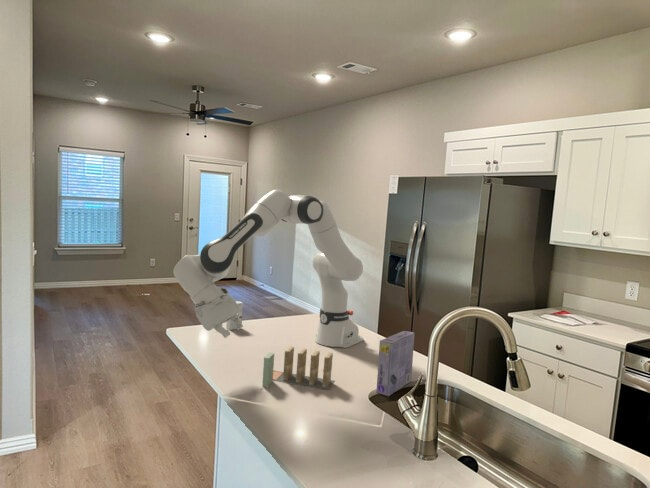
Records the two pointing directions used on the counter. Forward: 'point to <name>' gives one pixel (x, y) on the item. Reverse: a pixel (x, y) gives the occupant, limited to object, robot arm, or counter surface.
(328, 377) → the maple domino
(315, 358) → the maple domino
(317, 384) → the charcoal mat
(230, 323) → the skincare box
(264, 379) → the sage domino
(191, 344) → the counter surface
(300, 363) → the maple domino
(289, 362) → the maple domino
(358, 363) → the counter surface
